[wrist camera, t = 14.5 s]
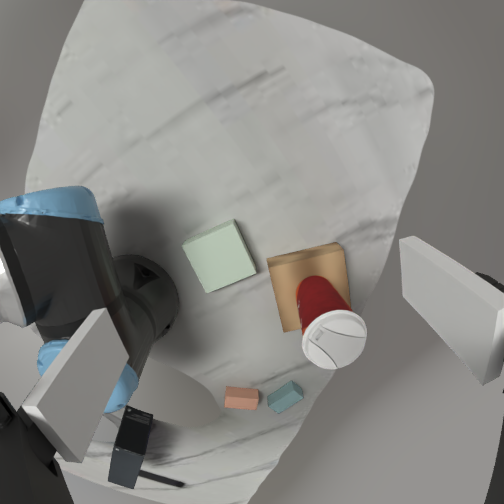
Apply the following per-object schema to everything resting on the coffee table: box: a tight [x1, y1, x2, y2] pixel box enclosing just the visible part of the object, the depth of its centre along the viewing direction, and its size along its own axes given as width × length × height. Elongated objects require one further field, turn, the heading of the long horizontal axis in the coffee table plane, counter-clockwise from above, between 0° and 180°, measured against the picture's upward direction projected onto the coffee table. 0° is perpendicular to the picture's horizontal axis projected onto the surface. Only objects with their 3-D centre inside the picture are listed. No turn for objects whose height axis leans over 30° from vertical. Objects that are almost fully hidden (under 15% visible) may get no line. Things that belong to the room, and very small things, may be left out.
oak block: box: [267, 242, 351, 332], centre depth 49 cm, size 11×11×4 cm
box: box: [108, 406, 153, 489], centre depth 56 cm, size 17×7×12 cm, turn 158°
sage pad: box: [182, 219, 256, 293], centre depth 48 cm, size 8×8×3 cm
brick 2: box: [268, 381, 303, 414], centre depth 57 cm, size 6×3×3 cm, turn 132°
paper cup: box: [296, 275, 367, 369], centre depth 40 cm, size 8×8×14 cm
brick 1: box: [224, 386, 259, 410], centre depth 57 cm, size 6×3×3 cm, turn 82°
